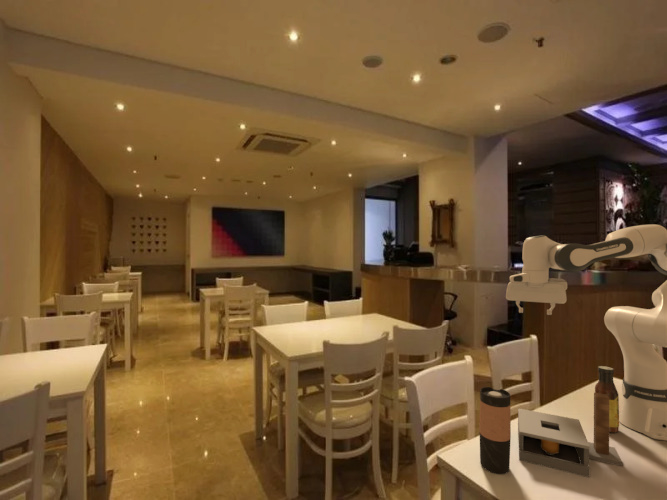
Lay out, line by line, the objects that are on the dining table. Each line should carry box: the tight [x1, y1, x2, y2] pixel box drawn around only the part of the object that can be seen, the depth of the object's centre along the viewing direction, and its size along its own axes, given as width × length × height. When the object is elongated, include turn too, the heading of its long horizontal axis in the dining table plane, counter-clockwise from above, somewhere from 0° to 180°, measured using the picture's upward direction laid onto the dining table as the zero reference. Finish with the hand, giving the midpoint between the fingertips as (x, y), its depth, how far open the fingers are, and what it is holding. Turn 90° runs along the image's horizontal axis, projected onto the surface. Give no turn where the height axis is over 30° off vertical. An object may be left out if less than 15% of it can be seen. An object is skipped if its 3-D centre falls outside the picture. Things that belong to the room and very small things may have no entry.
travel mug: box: [478, 386, 512, 475], centre depth 95 cm, size 8×8×20 cm
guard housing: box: [517, 408, 591, 478], centre depth 101 cm, size 16×16×8 cm
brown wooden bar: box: [593, 392, 610, 455], centre depth 100 cm, size 3×3×16 cm
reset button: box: [540, 439, 560, 454], centre depth 101 cm, size 4×4×2 cm
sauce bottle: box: [594, 365, 620, 433], centre depth 115 cm, size 7×6×20 cm
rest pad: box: [588, 441, 623, 467], centre depth 100 cm, size 8×8×1 cm
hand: (534, 313), depth 134 cm, fingers open, 8 cm apart
